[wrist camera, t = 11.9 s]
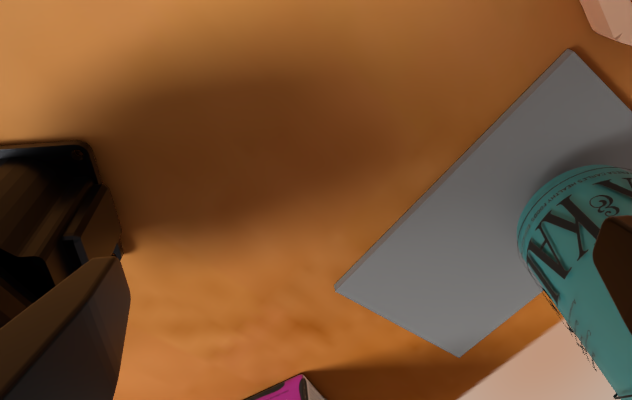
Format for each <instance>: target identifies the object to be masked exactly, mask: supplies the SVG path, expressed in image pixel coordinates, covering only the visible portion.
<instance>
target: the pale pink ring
mask: <svg viewBox="0 0 632 400" xmlns="http://www.w3.org/2000/svg"><path fill="white" fill-rule="evenodd" d="M580 3H581V5H582V7H583V10H584V12H585V14H586V16H587V19H588V21H589V23H590V26H591V28H592V30H594V31H596V33H597V34H600V35H603V36H605V37H608V38H610V39H613V40H615V41H618V42H621V43H624V44H627V45H630V46H632V3H631V1H630V0H580Z"/></svg>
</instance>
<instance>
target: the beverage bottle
mask: <svg viewBox="0 0 632 400" xmlns="http://www.w3.org/2000/svg"><path fill="white" fill-rule="evenodd" d="M623 169H626V168H623ZM623 169H620V167H613V166H609V165H589V166H583V167H579V168H575V169H573V170H570V171H567V172H565V173H563V174H561V175H559V176H557V177H555V178H553V179H552V180H551V181H549V182H548V183H546V184H545V185H544V186H543V187H541V188H540V189H539V190H538V191H537V192H536V193H535V194H534V195H533V196H532V198H531V199H530V200H529V201H528V203H527V204H526V206H525V207H524V209H523V211H522V213H521V215H520V218H519V221H518V225H517V247H519V251H520V253H521V257H522V259H523V260H525V262H526V263H527V267H528V266H529V268H530V269H531V271H532V272H533V273H534V276H536V278H537V279H538V282H539V283H540V284H541V285H542V286H543V288H542V287H541V286H540V287H541V288H542V289H543V290H544V291H545V292H546V294H547V295H548V296H549V298H550V299H552V301H553V302H554V304H555V305H556V307H557V308H558V310H559V311H560V312H561V314H562V315H563V317H564V318H565V320H566V321H567V323H568V324H569V325H570V326H569V325H568V326H569V330H570V331H571V332H573V331H574V334H576V336H577V337H578V338H579V340H580V341H581V344H583V346H584V347H585V349H586V352H587V351H588V353H589V354H590V356H591V357H592V359H593V360H594V361H595V363H596V364H597V366H598V367H599V369H600V370H601V372H602V373H603V374H604V376H605V377H606V379H607V380H608V382H609V383H610V384H611V386H612V387H613V389H614V390H615V392H616V394H615V395H614V396H613V397H614V398H615V399H621V400H632V335H631V333H630V332H629V330H628V328H627V326H626V324H625V323H624V321H623V319H622V317H621V315H620V313H619V311H618V309H617V307H616V305H615V303H614V302H613V300H612V298H611V296H610V294H609V292H608V290H607V288H606V286H605V284H604V282H603V280H602V278H601V276H600V275H599V273H598V271H597V269H596V267H595V265H594V262H593V257H592V253H593V248H594V246H595V243H596V240H597V237H598V234H599V231H600V228H601V225H602V223H603V221H604V220H605V219H606V218H608V217H610V216H622V215H630V216H632V173H631V172H628V171H626V170H623ZM628 170H630V169H628ZM518 254H519V252H518ZM519 257H520V256H519ZM520 260H521V259H520ZM521 262H522V261H521ZM524 266H525V265H524ZM529 268H528V271H529ZM529 274H532V273H531V272H530V271H529ZM531 276H532V275H531ZM532 277H533V276H532ZM533 278H534V277H533ZM534 280H535V278H534ZM535 283H536V282H535ZM537 286H538V285H537ZM539 289H540V288H539ZM544 296H545V295H544ZM546 299H547V298H546ZM549 301H550V300H549ZM549 301H548V302H549ZM550 302H551V301H550ZM551 304H552V303H551ZM551 304H550V305H551ZM552 306H553V304H552ZM553 307H554V306H553ZM553 307H552V308H553ZM554 309H555V310H556V308H555V307H554ZM555 310H554V311H555ZM556 311H557V310H556ZM557 312H558V311H557ZM558 314H559V313H558ZM559 315H560V314H559ZM559 318H560V317H559ZM561 321H562V320H561ZM570 327H571V328H572V329H571V328H570ZM576 336H575V337H576ZM578 345H579V344H578ZM583 346H582V347H581V348H582V349H584V348H583ZM586 354H587V353H586ZM593 360H592V361H593ZM593 364H594V363H593ZM595 370H596V369H595ZM617 395H618V397H616V396H617Z"/></svg>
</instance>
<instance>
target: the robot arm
mask: <svg viewBox="0 0 632 400" xmlns="http://www.w3.org/2000/svg"><path fill="white" fill-rule="evenodd" d="M74 150H79V151H81V152H82V153H83V156H78V155H77V154H76V153H75V152H74ZM121 233H122V229H121V226H120V222H119V219H118V216H117V213H116V209H115V206H114V203H113V200H112V196H111V193H110V190H109V188H108V187H107V186H106V185H105V184H102V180H101V177H100V174H99V171H98V168H97V164H96V161H95V158H94V155H93V152H92V149H91V147H90V146H89V145H88V144H87V143H85V142H83V141H62V142H48V143H33V144H19V145H4V146H0V400H113V396H114V393H115V389H116V385H117V381H118V376H119V371H120V365H121V359H122V352H123V346H124V340H125V334H126V327H127V321H128V315H129V309H130V300H131V298H130V290H129V287H128V284H127V280H126V277H125V274H124V271H123V268H122V265H121V262H120V260H121V258H122V256H123V254H124V253H123V248H122V244H121V241H120V238H119V237H120V235H121ZM112 253H115V255H112ZM592 257H593V262H594V265H595V267H596V269H597V271H598V273H599V275H600V276H601V278H602V280H603V282H604V284H605V286H606V288H607V290H608V292H609V294H610V296H611V298H612V300H613V302H614V303H615V305H616V307H617V309H618V311H619V313H620V315H621V317H622V319H623V321H624V323H625V324H626V326H627V328H628V330H629V332H630V333H631V335H632V216H630V215H622V216H610V217H608V218H606V219H605V220H604V221H603V223H602V225H601V228H600V231H599V234H598V237H597V240H596V243H595V246H594V248H593V253H592Z"/></svg>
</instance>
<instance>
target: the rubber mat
mask: <svg viewBox="0 0 632 400" xmlns="http://www.w3.org/2000/svg"><path fill="white" fill-rule="evenodd" d="M589 165H609V166H613V167H620V169H623V168H626V169H623V170H626V171H628V172H631V173H632V111H631V110H630V109H629V108H628V107H627V106H626V105H625V104H624V103H623V102H622V101H621V100H620V99H619V98H618V97H617V96H616V95H615V94H614V93H613V92H612V91H611V90H610V88H609V87H608V86H607V85H606V84H605V83H604V82H603V81H602V80H601V79H600V78H599V77H598V76H597V75H596V74H595V73H594V72H593V71H592V70H591V69H590V68H589V67H588V66H587V65H586V64H585V63H584V62H583V60H582V59H581V58H580V57H579V56H578V55H577V54H576V53H575V52H574V51H572V50H570V49H567V50H566V51H565V52H564V53H563V54H562V55H561V56H560V57H559V58H558V59H557V60H556V61H555V62H554V63H553V64H552V65H551V66H550V67H549V68H548V69H547V70H546V71H545V72H544V73H543V74H542V75H541V76H540V77H539V78H538V79H537V80H536V81H535V82H534V83H533V84H532V85H531V86H530V87H529V88H528V89H527V90H526V91H525V92H524V93H523V94H522V95H521V96H520V97H519V98H518V99H517V100H516V101H515V102H514V103H513V104H512V105H511V106H510V107H509V108H508V109H507V110H506V111H505V112H504V113H503V114H502V115H501V116H500V117H499V118H498V120H497V121H496V122H495V123H494V124H493V125H492V126H491V127H490V128H489V129H488V130H487V131H486V132H485V133H484V134H483V135H482V136H481V137H480V138H479V139H478V140H477V141H476V142H475V143H474V144H473V145H472V146H471V147H470V148H469V149H468V150H467V151H466V152H465V153H464V154H463V155H462V156H461V157H460V158H459V159H458V160H457V161H456V162H455V163H454V164H453V165H452V166H451V167H450V168H449V169H448V170H447V171H446V172H445V173H444V174H443V175H442V176H441V177H440V178H439V179H438V180H437V181H436V182H435V183H434V184H433V185H432V186H431V187H430V188H429V189H428V190H427V191H426V192H425V193H424V194H423V195H422V197H421V198H420V199H419V200H418V201H417V202H416V203H415V204H414V205H413V206H412V207H411V208H410V209H409V210H408V211H407V212H406V213H405V214H404V215H403V216H402V217H401V218H400V219H399V220H398V221H397V222H396V223H395V224H394V225H393V226H392V227H391V228H390V229H389V230H388V231H387V232H386V233H385V234H384V235H383V236H382V237H381V238H380V239H379V240H378V241H377V242H376V243H375V244H374V245H373V246H372V247H371V248H370V249H369V250H368V251H367V252H366V253H365V254H364V255H363V256H362V257H361V258H360V259H359V260H358V261H357V262H356V263H355V264H354V265H353V266H352V267H351V268H350V269H349V270H348V271H347V272H346V274H345V275H344V276H343V277H342V278H341V279H340V280H339V281H338V282H337V283H336V284H335V285H334V288H335V292H337V293H339V294H341V295H343V296H345V297H347V298H348V299H350V300H352V301H354V302H356V303H358V304H360V305H361V306H363V307H365V308H367V309H369V310H371V311H373V312H375V313H376V314H378V315H380V316H382V317H384V318H386V319H388V320H389V321H391V322H393V323H395V324H397V325H399V326H401V327H402V328H404V329H406V330H408V331H410V332H412V333H414V334H415V335H417V336H419V337H421V338H423V339H425V340H427V341H429V342H430V343H432V344H434V345H436V346H438V347H440V348H442V349H443V350H445V351H447V352H449V353H451V354H453V355H455V356H456V357H458V358H460V357H461V356H462V355H463V354H465V353H466V352H467V351H468V350H470V349H471V348H472V347H473V346H475V345H476V344H477V343H478V342H480V341H481V340H482V339H483V338H485V337H486V336H487V335H488V334H490V333H491V332H492V331H493V330H495V329H496V328H497V327H498V326H500V325H501V324H502V323H503V322H505V321H506V320H507V319H508V318H510V317H511V316H512V315H513V314H515V313H516V312H517V311H518V310H520V309H521V308H522V307H523V306H525V305H526V304H527V303H528V302H530V301H531V300H532V299H533V298H535V297H536V296H537V295H538V294H540V293H541V292H542V291H543V289H542V288H543V286H542V285H541V284H540V283H539V282H538V279H537V278H536V276H534V273H533V272H532V271H531V269H530V268H529V266H528V267H527V263H526V262H525V260H523V259H522V257H521V253H520V251H519V247H517V225H518V221H519V218H520V215H521V213H522V211H523V209H524V207H525V206H526V204H527V203H528V201H529V200H530V199H531V198H532V196H533V195H534V194H535V193H536V192H537V191H538V190H539V189H540V188H541V187H543V186H544V185H545V184H546V183H548V182H549V181H551V180H552V179H553V178H555V177H557V176H559V175H561V174H563V173H565V172H567V171H570V170H573V169H575V168H579V167H583V166H589ZM628 169H630V170H628ZM518 252H519V254H518ZM519 256H520V257H519ZM520 259H521V260H520ZM521 261H522V262H521ZM524 265H525V266H524ZM528 268H529V271H530V272H531V273H532V274H529V271H528ZM531 275H532V276H533V277H534V278H535V280H534V278H533V277H532V276H531ZM535 282H536V283H535ZM537 285H538V286H537ZM540 286H541V287H542V288H541V287H540ZM539 288H540V289H539Z"/></svg>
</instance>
